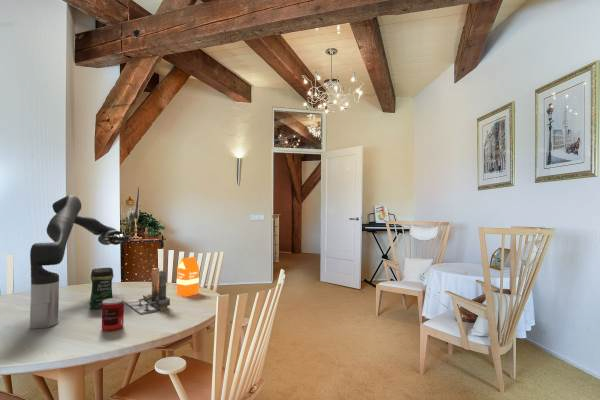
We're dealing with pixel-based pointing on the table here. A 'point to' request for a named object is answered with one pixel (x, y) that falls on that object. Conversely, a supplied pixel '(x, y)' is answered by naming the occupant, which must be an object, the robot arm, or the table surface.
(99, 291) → the coffee jar
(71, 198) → the robot arm
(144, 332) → the table surface
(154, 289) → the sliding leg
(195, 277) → the orange juice
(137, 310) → the grey metal fixture
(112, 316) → the canned food
